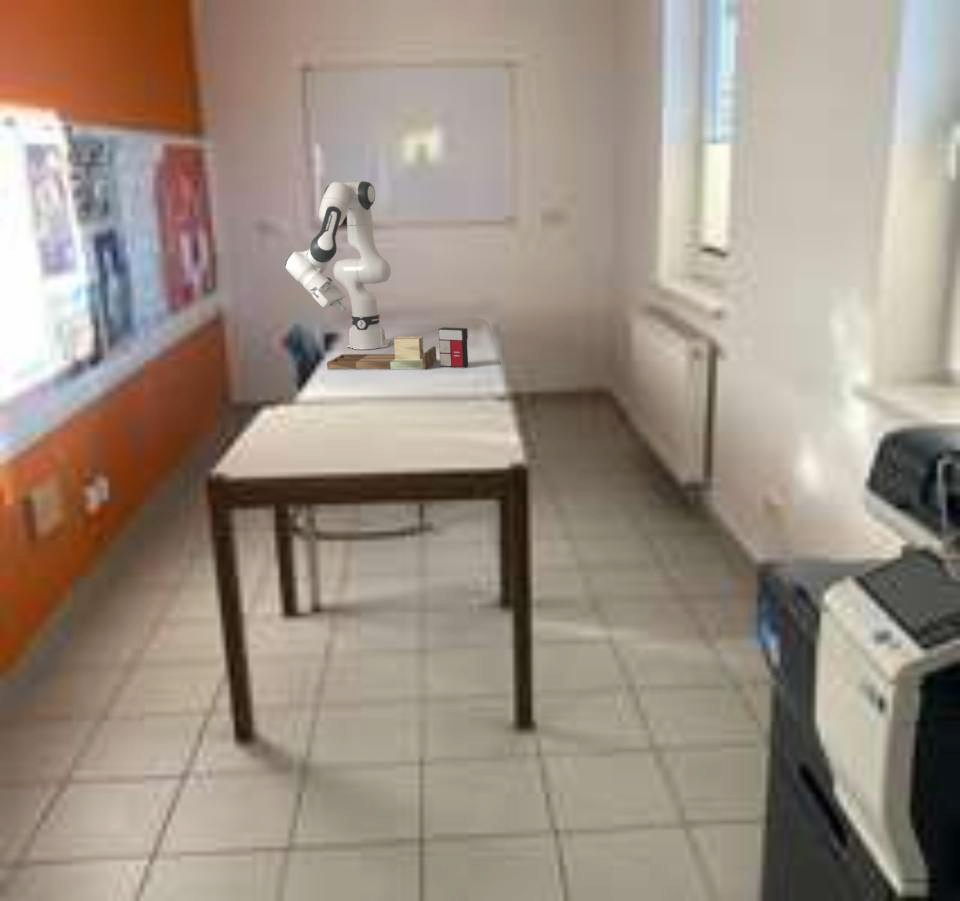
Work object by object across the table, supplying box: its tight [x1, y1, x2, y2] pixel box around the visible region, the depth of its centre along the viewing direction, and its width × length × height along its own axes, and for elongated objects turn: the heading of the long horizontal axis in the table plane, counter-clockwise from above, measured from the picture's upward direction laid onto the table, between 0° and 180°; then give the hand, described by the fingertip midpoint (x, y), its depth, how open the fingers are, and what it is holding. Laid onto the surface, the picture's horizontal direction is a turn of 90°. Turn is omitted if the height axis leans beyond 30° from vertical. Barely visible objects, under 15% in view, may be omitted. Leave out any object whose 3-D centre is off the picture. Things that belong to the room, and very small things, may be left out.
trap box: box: [326, 346, 438, 370], centre depth 395 cm, size 18×40×6 cm, turn 79°
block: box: [393, 336, 425, 360], centre depth 391 cm, size 6×10×8 cm, turn 78°
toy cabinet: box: [438, 326, 469, 368], centre depth 385 cm, size 11×4×15 cm, turn 62°
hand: (344, 310), depth 393 cm, fingers closed
